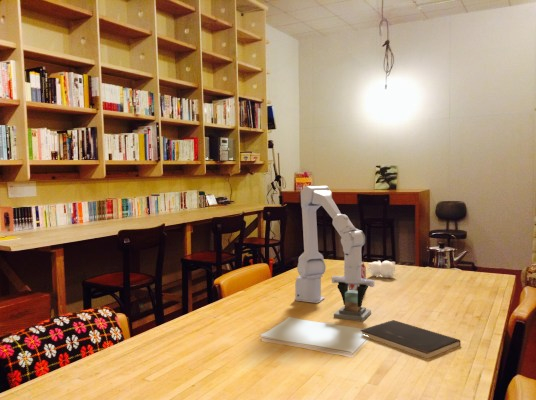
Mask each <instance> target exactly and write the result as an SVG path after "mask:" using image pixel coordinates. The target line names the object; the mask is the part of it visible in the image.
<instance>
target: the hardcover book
mask: <svg viewBox="0 0 536 400" xmlns="http://www.w3.org/2000/svg"><path fill="white" fill-rule="evenodd" d="M360 332H361V333H362V334H365V335H368V336H369V338H368V339H371V340H374V341H377V342H379V343H383V344H385V345H388V346H391V347H393V348H396V349H399V350H402V351H405V352H408V353H410V354H413V355H416V356H419V357H421V358H425V359H430V358H431V357H434V356H436V355H439V354H442V353H445V352H446V351H449V350H451V349H454V348H457V347H459V346H461V340H460V339H458V338H456V337H455V338H454V337H451V336H448V335H446V334H445V335H444V334H442V333H439V332H435V331H432V330H428V329H425V328H422V327H418V326H415V325H412V324H407V323H404V322H401V321H398V320H394V319H392V320H388V321H386V322H382V323H379V324H375V325H373V326H369V327H367V328H362V329H360Z"/></svg>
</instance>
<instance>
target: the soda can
mask: <svg viewBox="0 0 536 400" xmlns="http://www.w3.org/2000/svg"><path fill="white" fill-rule="evenodd" d="M366 269H367V268H366V265H365V262H364V261H361V278H364V279H367V270H366ZM358 286H359V285H354V284H348V290H355V291H358V290H357V287H358Z"/></svg>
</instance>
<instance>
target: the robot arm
mask: <svg viewBox="0 0 536 400" xmlns="http://www.w3.org/2000/svg"><path fill="white" fill-rule="evenodd" d="M300 206H301V214H302V217H301V218H302V231H303V233H302V234H303V250H304V251H303V252H302V253H301V254H300V256H299V257H298V263H297V266H296V267H297V272H298V275H299V276H297V277H296V279H295V283H294V284H295V287H294V288H295V291H294V292H295V293H294V295H295V298H294V301H297V302H299V301H300V302H305V303H314V304H319V303H320V302H322V301H323V300H324V299H325V296H322V278H323V275H324V274H325V273H326V269H327V268H326V267H327V266H326V263H325V260H324V255H323V254H322V253H321V252H319V244H318V243H319V242H318V225H317V223H318V222H317V220H318V219H317V210H318V209H319V208H320V207H322V208H323V209H324V210H325V211H326V212H327V214H328V215H329V217H331V219H332V223H331V224H332V226H333V227H334V229H335V231H337V233H338V234H339V236H340V244H341V247H342V252H343V253H344V255H343V256H344V258H343V260H344V262H343V263H344V264H343V265H344V268H343V269H344V274H343V275H344V276H339V275H337V276H335V275H333V276H331V283H333V284H336V283H337V287H336V288H337V289H338V291H339V293H340V295H341V298H342V299H341V300H342V302H343V306H345V292H346V291H348V290H349V287H348V284H354V285H359V286H358V287H357V290H358V307H363V306H362V305H363V300H364V297H365V294H366V292H367V290H368V288H369V287H371V288H374V287H375V283H376V282H375V280H374V279H369V278H368V279H367V278H366V279H364V278H361V262H362V247H363V246H364V245H365V244H366V235H365V233H364V232H363V230H360V229H358V228H356V227H355V225H353V222H351V220H350V218H349V217H348V215H346V214H345V213H344V214H343V213H341V211H340V210H339V207H338V206H337V204H336V203H335V200H334V199H333V192H332V191H331V189H330V187H329V186H328V185H312V186H311V185H305V186H304V187H303V188H302V189H301V191H300Z"/></svg>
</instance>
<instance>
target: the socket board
mask: <svg viewBox="0 0 536 400" xmlns="http://www.w3.org/2000/svg"><path fill="white" fill-rule="evenodd" d="M370 314H372V309H367V307H364V306H361V310H360V311H359V312H353V311H346V310H345V305H343V306H342V307H340V309H338V310H337V311H335V312H334V313H333V318H336V319H344V320H351V321H357V322H363V321H365V320H366V319H367V318H368V317H369V316H370Z"/></svg>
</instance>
